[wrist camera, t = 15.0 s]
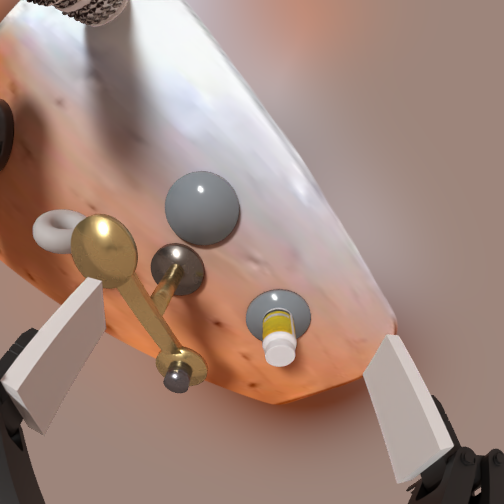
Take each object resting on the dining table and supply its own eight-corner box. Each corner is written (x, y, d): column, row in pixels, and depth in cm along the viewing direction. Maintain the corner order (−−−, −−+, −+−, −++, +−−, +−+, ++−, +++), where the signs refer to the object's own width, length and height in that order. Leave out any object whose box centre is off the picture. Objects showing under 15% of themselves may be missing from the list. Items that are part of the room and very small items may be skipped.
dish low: (253, 344, 47) (253, 347, 46) (239, 295, 43) (239, 298, 42) (312, 335, 46) (313, 338, 45) (306, 283, 42) (306, 286, 41)
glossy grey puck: (178, 248, 41) (176, 251, 40) (158, 181, 37) (156, 182, 36) (246, 235, 39) (246, 237, 39) (229, 163, 36) (229, 164, 35)
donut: (57, 220, 40) (19, 242, 30) (59, 201, 38) (19, 219, 29) (104, 239, 41) (69, 267, 31) (107, 219, 39) (71, 243, 30)
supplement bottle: (256, 315, 44) (254, 352, 36) (282, 301, 42) (286, 337, 35) (273, 335, 45) (274, 373, 37) (299, 322, 44) (304, 359, 36)
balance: (181, 339, 47) (155, 413, 32) (127, 190, 38) (57, 227, 22) (225, 334, 46) (211, 414, 31) (178, 176, 37) (123, 206, 21)
